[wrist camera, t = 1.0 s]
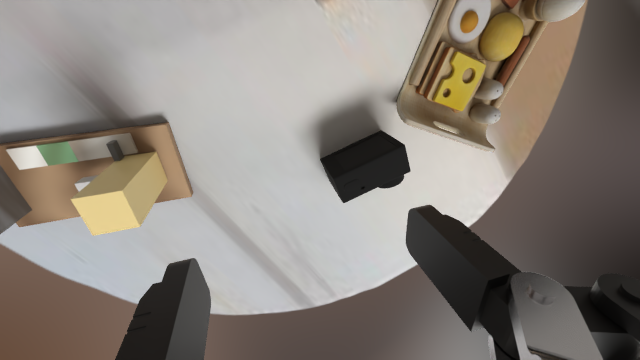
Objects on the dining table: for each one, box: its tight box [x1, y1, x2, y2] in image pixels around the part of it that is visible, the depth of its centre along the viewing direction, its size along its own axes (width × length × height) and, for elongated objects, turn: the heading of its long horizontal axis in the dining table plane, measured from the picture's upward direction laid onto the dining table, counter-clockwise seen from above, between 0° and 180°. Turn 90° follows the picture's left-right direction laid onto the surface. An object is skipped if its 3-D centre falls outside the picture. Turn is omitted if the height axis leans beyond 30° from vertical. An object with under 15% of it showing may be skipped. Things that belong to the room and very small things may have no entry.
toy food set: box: [397, 0, 585, 153], centre depth 34 cm, size 25×18×8 cm
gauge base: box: [0, 122, 193, 234], centre depth 29 cm, size 20×10×7 cm, turn 94°
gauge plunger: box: [71, 140, 168, 236], centre depth 27 cm, size 8×6×10 cm
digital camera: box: [320, 131, 410, 203], centre depth 38 cm, size 10×5×7 cm, turn 111°
